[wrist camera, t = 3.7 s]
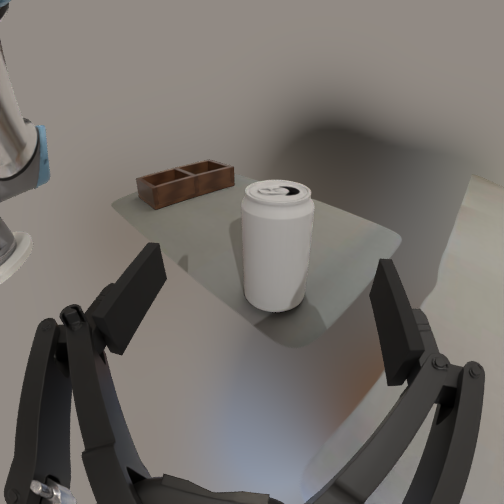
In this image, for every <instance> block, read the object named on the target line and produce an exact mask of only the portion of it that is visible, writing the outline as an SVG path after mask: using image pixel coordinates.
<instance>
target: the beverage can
mask: <svg viewBox="0 0 504 504" xmlns="http://www.w3.org/2000/svg"><path fill="white" fill-rule="evenodd" d="M245 195H246V196H245V197H244V199H243V200H242V203H241V214H242V242H243V269H244V293H245V296H246V298H247V300H248V301H249V302H250V303H251V304H252V305H253V306H255V307H256V308H258V309H261V310H264V311H269V312H283V311H287V310H290V309H292V308H294V307H296V306H297V305H299V304H300V303H301V301H302V300H303V298H304V294H305V288H306V280H307V272H308V264H309V255H310V247H311V237H312V227H313V217H314V203H313V201H312V200H311V198H310V197H311V191H310V189H309V188H308V187H306V186H304V185H302V184H300V183H296V182H292V181H286V180H266V181H260V182H256V183H253V184H251V185H249V186H248V187H247V188H246V189H245Z"/></svg>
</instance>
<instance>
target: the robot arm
mask: <svg viewBox="0 0 504 504" xmlns="http://www.w3.org/2000/svg"><path fill="white" fill-rule="evenodd" d="M10 1H11V0H0V22H1V21H2V19H3V18H4V17H5V15H6V13H7V11H8V8H9V2H10ZM49 179H50V169H49V161H48V153H47V142H46V129H45V126H43V125H41V126H34V125H33V123H32V122H31V121H29V120H28V119H25V118H22V115H21V112H20V110H19V107H18V104H17V101H16V98H15V95H14V92H13V88H12V85H11V82H10V78H9V75H8V71H7V67H6V63H5V59H4V55H3V50H2V46H1V41H0V202H2V201H5V200H7V199H9V198H11V197H13V196H16V195H18V194H21V193H23V192H26V191H28V190H30V189H33V188H34V189H35V188H38V186H40V185H42V184H45V183H47V182H48V180H49ZM16 247H17V242H16V240H15V237H14V235H13V234H12V233H11V231H10V230H9V228H8V227H7V226H6V224H5V223H4V221H3V220H2V219H1V217H0V266H1V265H2V264H3V263H5V262H6V261H7V260H8V259H9V258H10V256H11V255H12V254H13V253H14V251H15V249H16ZM166 279H167V277H166V273H165V268H164V264H163V259H162V255H161V250H160V245H159V243H148V244H147V245H146V246H145V247H144V248H143V250H142V251H141V252H140V253H139V255H138V256H137V257H136V258H135V259H134V261H133V262H132V263H131V264H130V265H129V267H128V268H127V269H126V270H125V271H124V273H123V274H122V275H121V277H120V278H119V279H118V280H117V282H116V283H111V284H109V285H108V286H106V287H105V288H104V289H103V290H102V292H101V293H100V294H99V296H98V297H97V298H96V300H94V302H93V303H92V304H91V306H90V307H89V308H88V310H87V311H86V312H85V314H84V313H83V311H82V309H81V307H80V306H79V305H76V304H73V305H69V306H67V307H66V308H64V309H63V310H62V312H61V313H60V319H61V321H62V322H63V324H64V325H58V324H57V323H56V321H55V319H53V318H47V319H44V320H43V321H42V322H41V323H40V324H39V325H38V327H37V330H36V333H35V337H34V341H33V344H32V348H31V351H30V355H29V359H28V363H27V367H26V372H25V377H24V382H23V386H22V392H21V398H20V404H19V410H18V418H17V427H16V437H15V452H14V458H13V461H12V464H11V468H10V471H9V474H8V478H7V481H6V485H5V488H4V497H5V501H6V502H7V504H77V503H76V499H75V497H74V496H73V495H72V493H71V491H70V481H71V467H70V466H71V465H70V412H71V396H72V390H73V396H74V401H75V407H76V412H77V416H78V421H79V426H80V430H81V433H82V438H83V442H84V446H85V451H84V452H82V460H83V464H84V467H85V470H86V473H87V476H88V479H89V482H90V485H91V488H92V491H93V494H94V496H95V499H96V501H97V504H284V503H282V502H281V501H278V500H276V499H273V498H270V497H269V494H260V493H251V492H243V491H241V492H220V493H218V492H217V493H215V492H211V491H209V490H207V489H204V488H202V487H200V486H198V485H196V484H194V483H192V482H190V481H188V480H184V479H181V478H177V477H173V476H170V475H167V474H163V477H153V478H151V476H150V474H149V472H148V470H147V469H146V468H145V466H144V465H143V463H142V462H141V460H140V458H139V456H138V453H137V451H136V448H135V446H134V443H133V441H132V438H131V435H130V433H129V430H128V428H127V425H126V422H125V419H124V416H123V413H122V410H121V407H120V404H119V401H118V398H117V394H116V391H115V387H114V384H113V381H112V377H111V373H110V369H109V366H108V361H107V357H106V353H105V352H104V349H105V347H106V345H107V347H108V348H109V350H110V352H112V353H115V354H119V355H123V353H124V351H125V349H126V348H127V345H128V344H129V342H130V340H131V339H132V337H133V335H134V333H135V332H136V330H137V328H138V326H139V325H140V323H141V321H142V320H143V318H144V316H145V314H146V312H147V311H148V309H149V308H150V306H151V304H152V302H153V301H154V299H155V298H156V296H157V294H158V293H159V291H160V289H161V288H162V286H163V285H164V283H165V281H166ZM369 296H370V300H371V304H372V308H373V313H374V317H375V321H376V326H377V330H378V335H379V340H380V345H381V350H382V355H383V361H384V367H385V372H386V379H387V385H388V386H398V385H402V384H403V383H404V381H405V380H406V379H407V383H408V386H407V387H406V389H405V390H404V391H403V393H402V394H401V395H400V398H399V399H398V401H397V402H396V404H395V405H394V406H393V408H392V409H391V411H390V412H389V413H388V415H387V416H386V417H385V419H384V420H383V421H382V423H381V424H380V425H379V427H378V428H377V429H376V430H375V432H374V433H373V434H372V435H371V437H370V438H369V439H368V440H367V441H366V443H365V444H364V445H363V446H362V447H361V448H360V450H359V451H358V452H357V453H356V454H355V455H354V456H353V458H352V459H351V460H350V461H349V462H348V463H347V464H346V465H345V466H344V467H343V468H342V469H341V470H340V471H339V472H338V473H337V474H336V475H335V476H334V477H333V478H332V479H331V480H330V481H329V482H328V483H327V484H326V485H325V486H324V487H323V488H322V489H321V490H320V491H319V492H318V493H316V494H315V495H314V496H313V497H312V498H310V499H309V500H308V501H307V502H306V503H304V504H364V502H365V501H366V500H367V498H368V497H369V496H370V495H371V494H372V493H373V492H374V490H375V489H376V488H377V487H378V486H379V484H380V483H381V482H382V481H383V479H384V478H385V477H386V476H387V474H388V473H389V472H390V471H391V469H392V468H393V467H394V465H395V464H396V462H397V461H398V460H399V458H400V457H401V456H402V454H403V453H404V451H405V450H406V448H407V447H408V445H409V444H410V442H411V441H412V439H413V438H414V436H415V435H416V433H417V431H418V430H419V428H420V427H421V425H422V423H423V421H424V420H425V418H426V416H427V415H428V413H429V411H430V409H431V407H432V406H433V404H434V403H436V404H437V408H436V412H435V416H434V419H433V423H432V426H431V430H430V433H429V436H428V440H427V443H426V446H425V449H424V452H423V455H422V457H421V460H420V463H419V465H418V468H417V471H416V473H415V476H414V478H413V480H412V483H411V485H410V487H409V490H408V492H407V494H406V496H405V498H404V501H403V503H402V504H459V503H460V500H461V498H462V495H463V492H464V489H465V485H466V482H467V479H468V476H469V472H470V468H471V464H472V461H473V456H474V452H475V448H476V443H477V438H478V432H479V426H480V420H481V413H482V405H483V395H484V383H485V372H484V369H483V367H482V366H481V365H480V364H479V363H477V362H474V361H470V362H468V363H467V364H466V365H465V366H464V367H460V366H456V365H452V364H450V362H449V360H448V358H447V357H445V356H444V355H443V354H440V353H439V350H438V347H437V344H436V341H435V338H434V336H433V333H432V331H431V327H430V325H429V322H428V319H427V317H426V315H425V314H424V313H423V312H422V311H421V309H412V308H411V306H410V303H409V301H408V298H407V295H406V293H405V290H404V288H403V285H402V283H401V280H400V278H399V275H398V273H397V271H396V269H395V266H394V264H393V261H392V260H391V259H380V260H379V264H378V267H377V271H376V275H375V278H374V282H373V285H372V289H371V292H370V295H369Z"/></svg>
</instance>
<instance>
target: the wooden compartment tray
mask: <svg viewBox="0 0 504 504" xmlns="http://www.w3.org/2000/svg"><path fill="white" fill-rule="evenodd" d="M136 181H137V187H138V193H139V197H140V198H141V199H142V200H144V201H145V202H146V203H147V204H149V205H150V206H151V207H153V208H154V209H155V210H157V209H160V208H163V207H166V206H169V205H172V204H175V203H178V202H181V201H184V200H187V199H190V198H193V197H197V196H200V195H203V194H206V193H210V192H213V191H217V190H220V189H223V188H227V187H230V186H234V167H233V166H230V165H227V164H223V163H220V162H217V161H213V160H205V161H200V162H196V163H192V164H188V165H184V166H180V167H176V168H172V169H168V170H164V171H160V172H157V173H154V174H150V175H147V176H143V177H140V178H137V179H136Z"/></svg>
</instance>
